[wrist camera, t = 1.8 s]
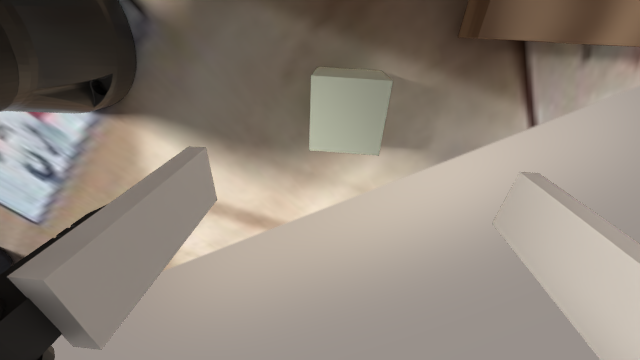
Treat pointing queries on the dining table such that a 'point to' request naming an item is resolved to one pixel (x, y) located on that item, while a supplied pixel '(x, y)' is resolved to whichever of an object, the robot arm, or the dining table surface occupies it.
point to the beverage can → (4, 261)
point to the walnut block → (554, 21)
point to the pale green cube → (348, 110)
